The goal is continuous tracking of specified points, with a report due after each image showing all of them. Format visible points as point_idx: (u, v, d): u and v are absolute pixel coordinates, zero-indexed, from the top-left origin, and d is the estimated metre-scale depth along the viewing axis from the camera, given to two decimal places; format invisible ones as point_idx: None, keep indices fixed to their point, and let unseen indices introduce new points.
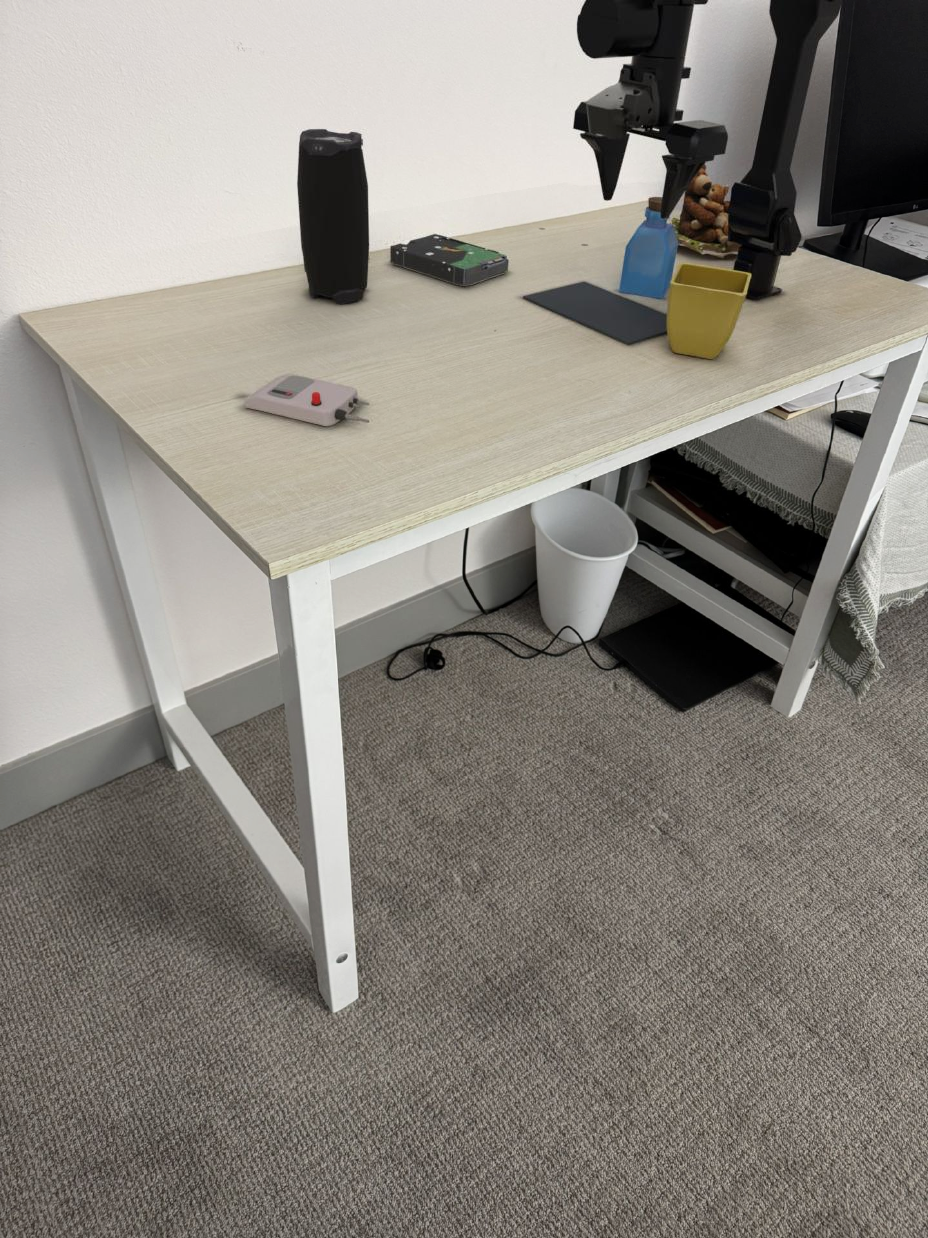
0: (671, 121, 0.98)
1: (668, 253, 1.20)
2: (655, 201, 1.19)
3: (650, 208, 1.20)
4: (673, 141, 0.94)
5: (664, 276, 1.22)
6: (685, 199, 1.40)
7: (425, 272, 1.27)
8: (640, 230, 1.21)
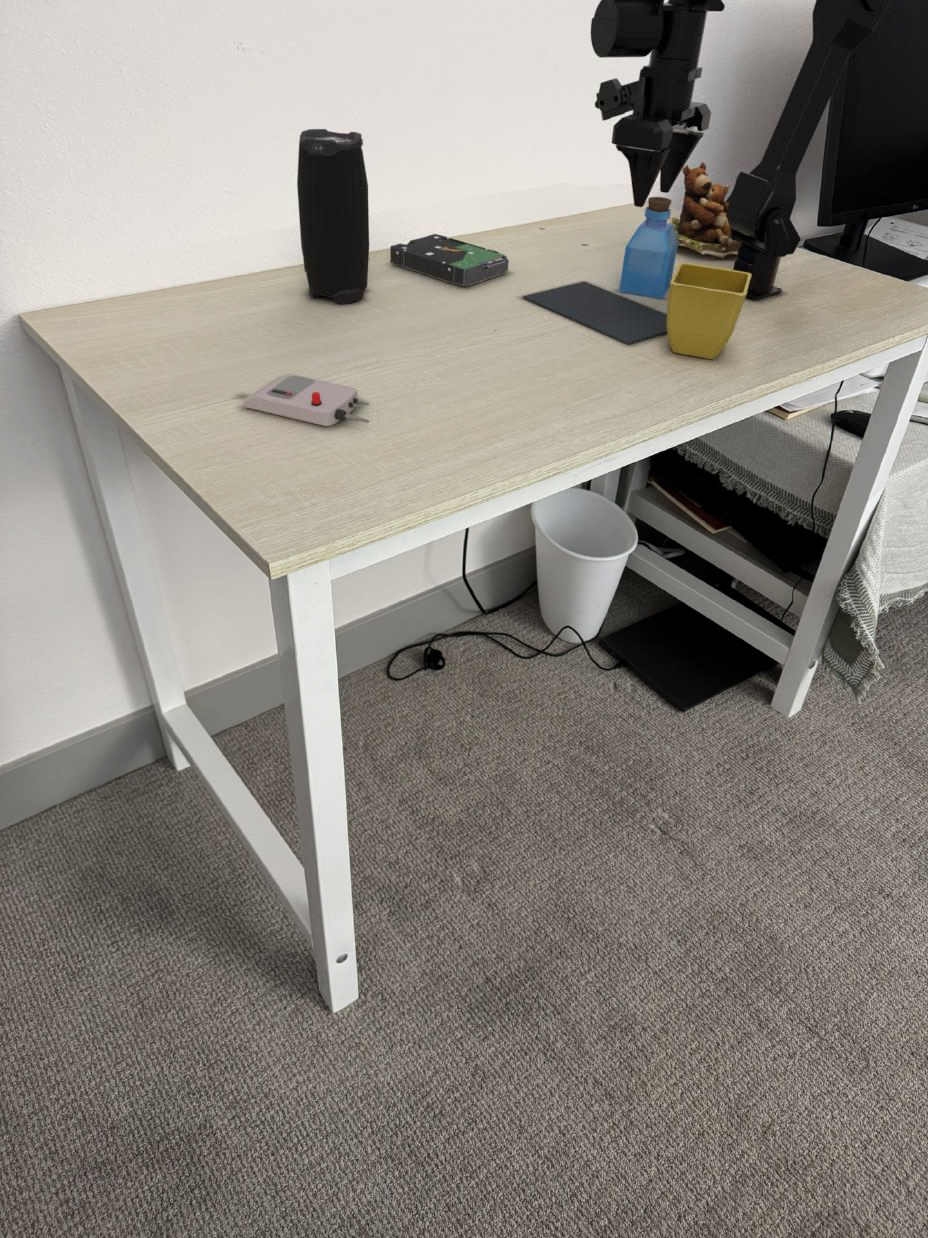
0: (661, 118, 1.05)
1: (668, 253, 1.20)
2: (655, 201, 1.19)
3: (650, 208, 1.20)
4: None
5: (664, 276, 1.22)
6: (685, 199, 1.40)
7: (425, 272, 1.27)
8: (640, 230, 1.21)
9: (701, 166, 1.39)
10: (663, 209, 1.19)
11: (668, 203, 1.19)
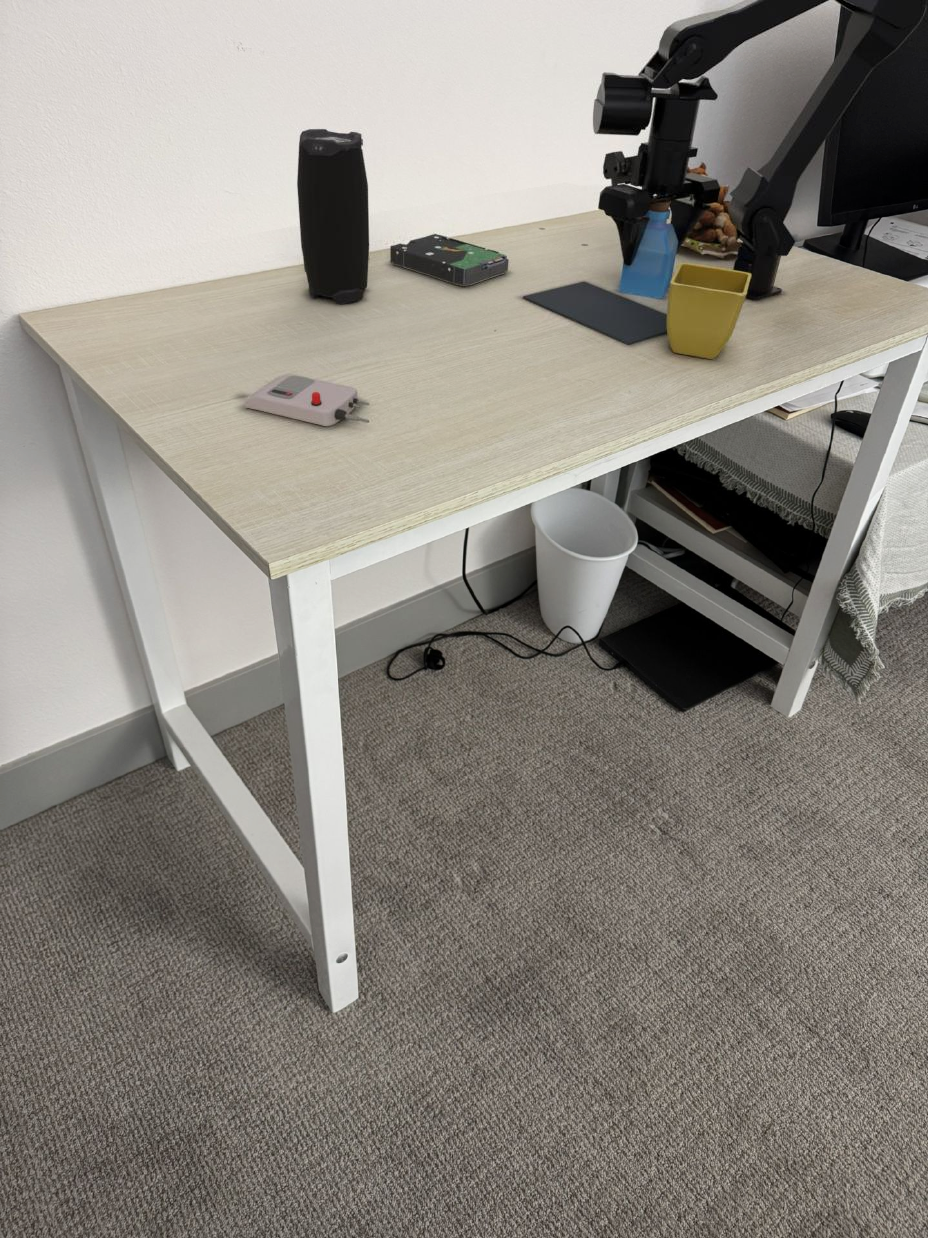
0: (651, 189, 1.17)
1: (668, 253, 1.20)
2: None
3: (650, 208, 1.20)
4: None
5: (664, 276, 1.22)
6: None
7: (425, 272, 1.27)
8: None
9: (701, 166, 1.39)
10: (663, 209, 1.19)
11: (668, 203, 1.19)
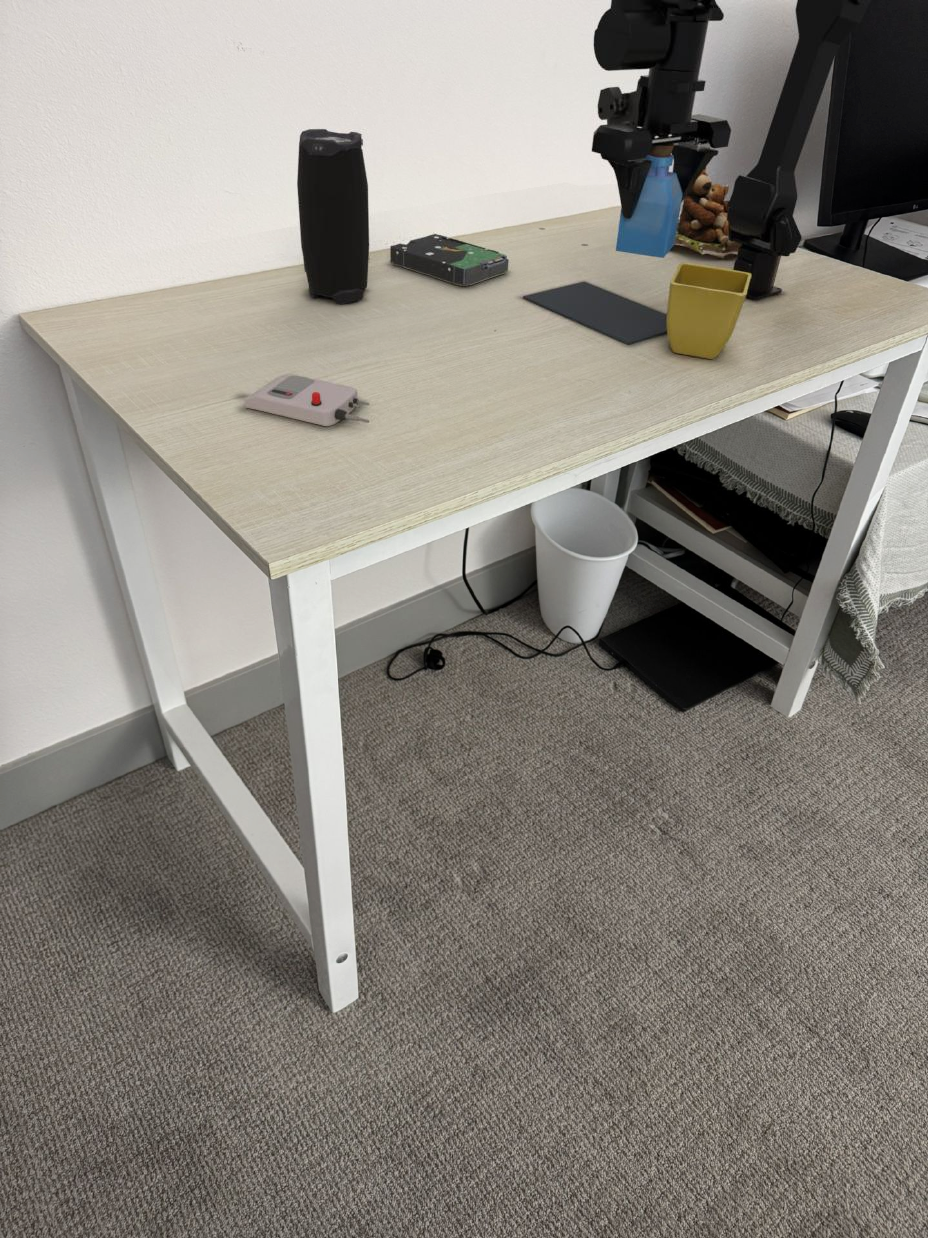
0: (652, 129, 1.02)
1: (670, 205, 1.06)
2: None
3: (650, 153, 1.05)
4: None
5: (666, 231, 1.08)
6: (685, 199, 1.40)
7: (425, 272, 1.27)
8: None
9: None
10: (665, 154, 1.05)
11: (670, 147, 1.04)
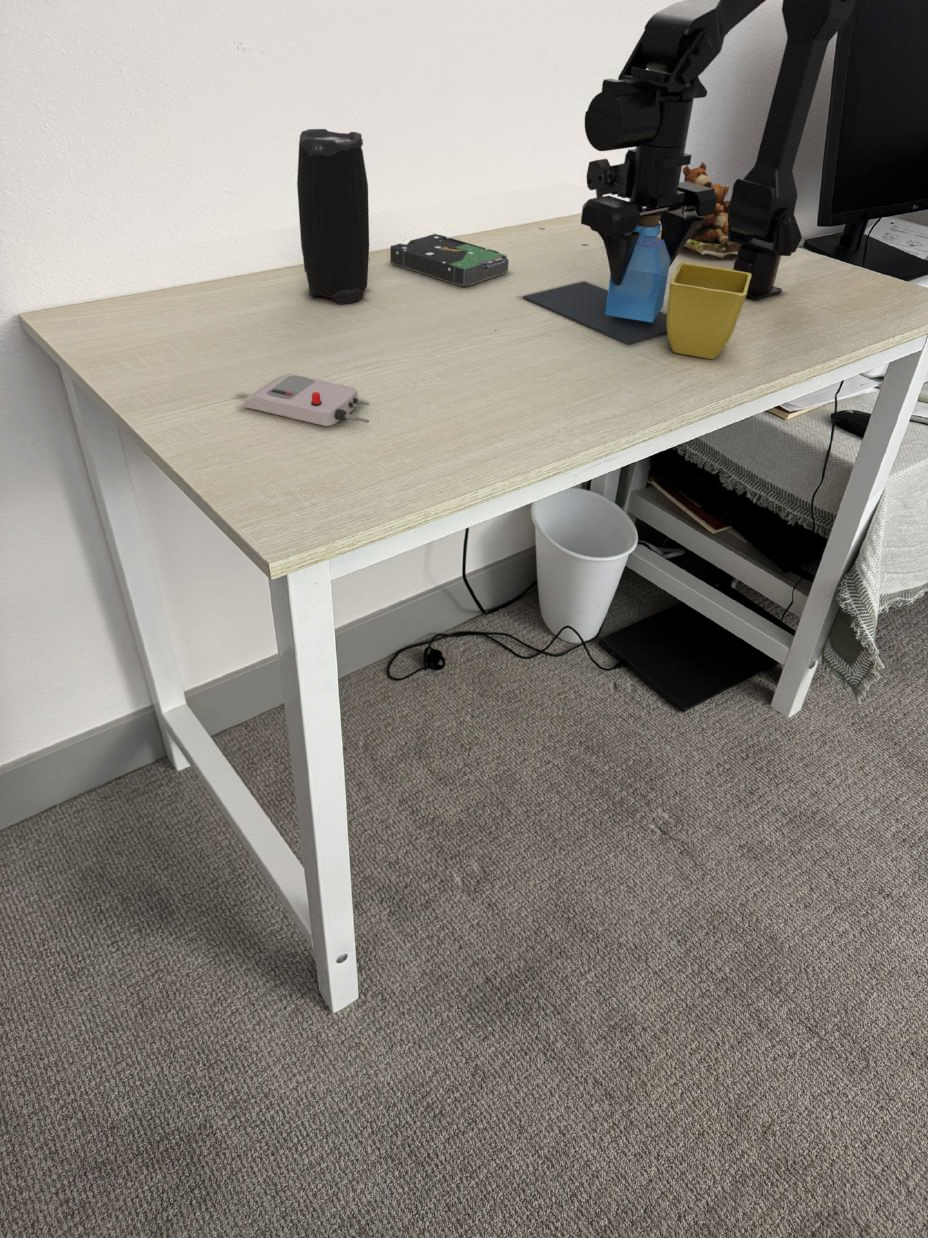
0: (640, 201, 1.05)
1: (658, 273, 1.08)
2: None
3: None
4: None
5: (655, 298, 1.10)
6: None
7: (425, 272, 1.27)
8: None
9: (701, 166, 1.39)
10: (652, 224, 1.07)
11: (658, 217, 1.07)
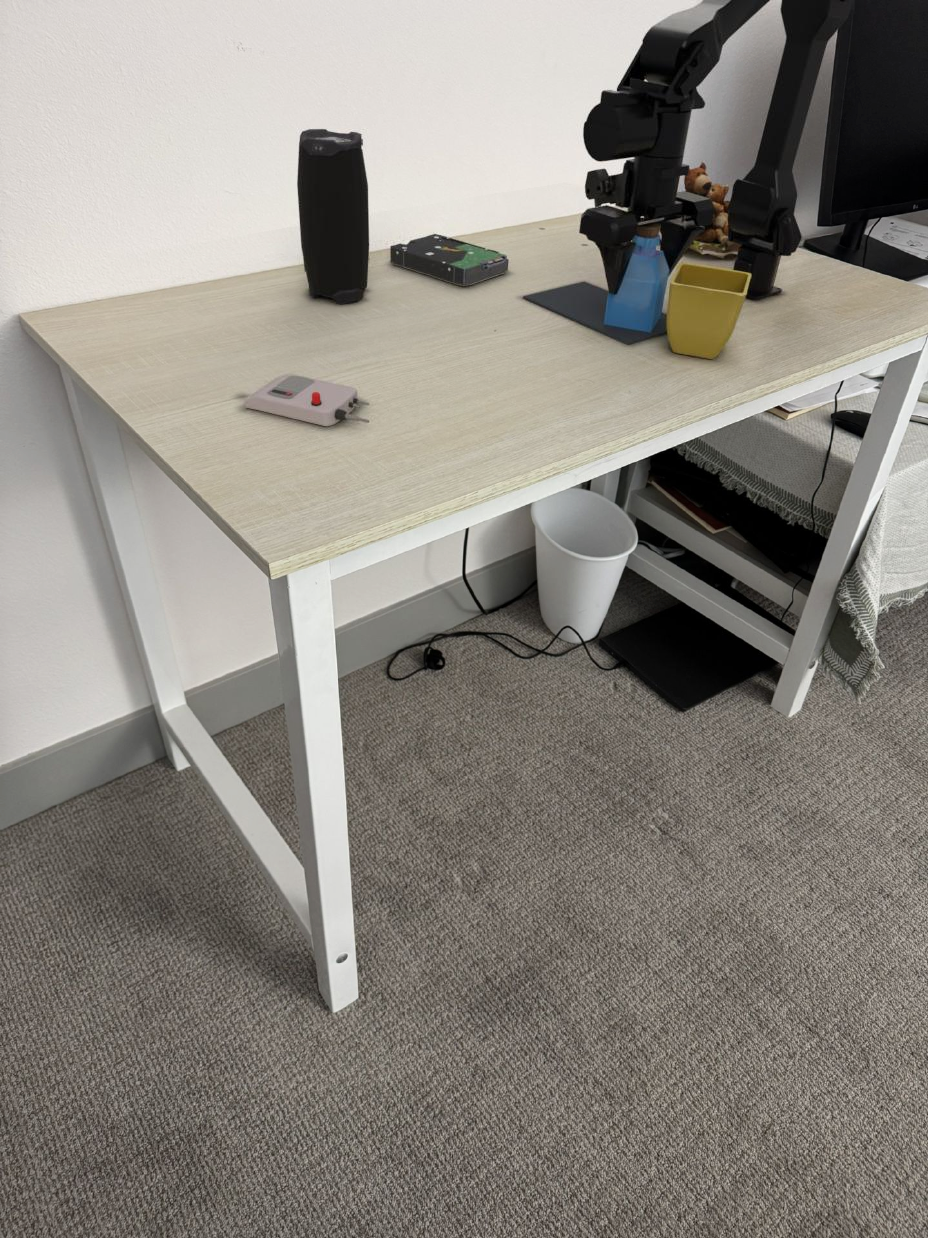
0: (638, 211, 1.05)
1: (657, 283, 1.09)
2: (643, 226, 1.08)
3: (637, 234, 1.09)
4: None
5: (653, 308, 1.11)
6: None
7: (425, 272, 1.27)
8: None
9: (701, 166, 1.39)
10: (652, 235, 1.08)
11: (657, 228, 1.08)
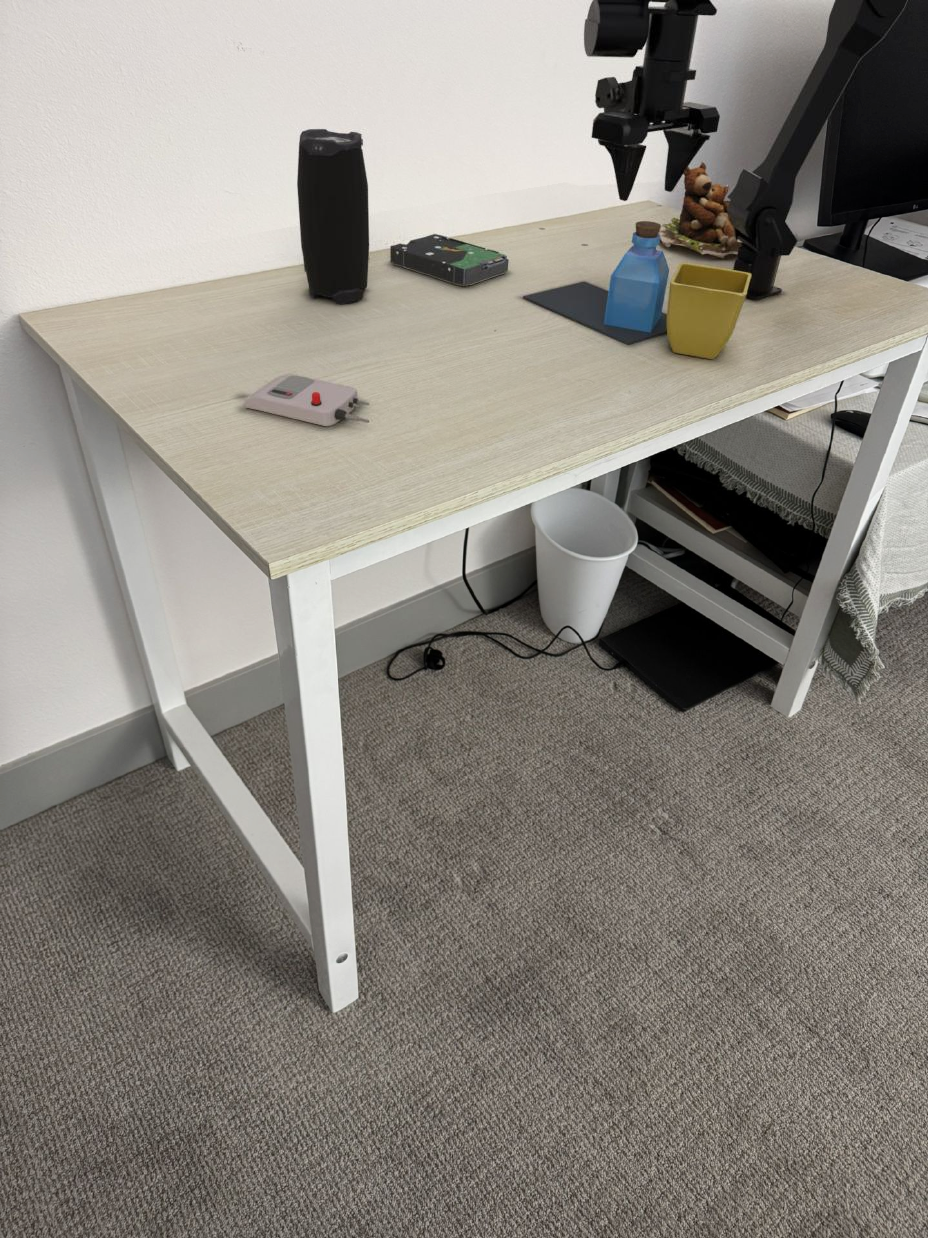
0: (647, 116, 1.10)
1: (657, 283, 1.09)
2: (643, 226, 1.08)
3: (637, 234, 1.09)
4: None
5: (653, 308, 1.11)
6: (685, 199, 1.40)
7: (425, 272, 1.27)
8: (626, 258, 1.10)
9: (701, 166, 1.39)
10: (652, 235, 1.08)
11: (657, 228, 1.08)
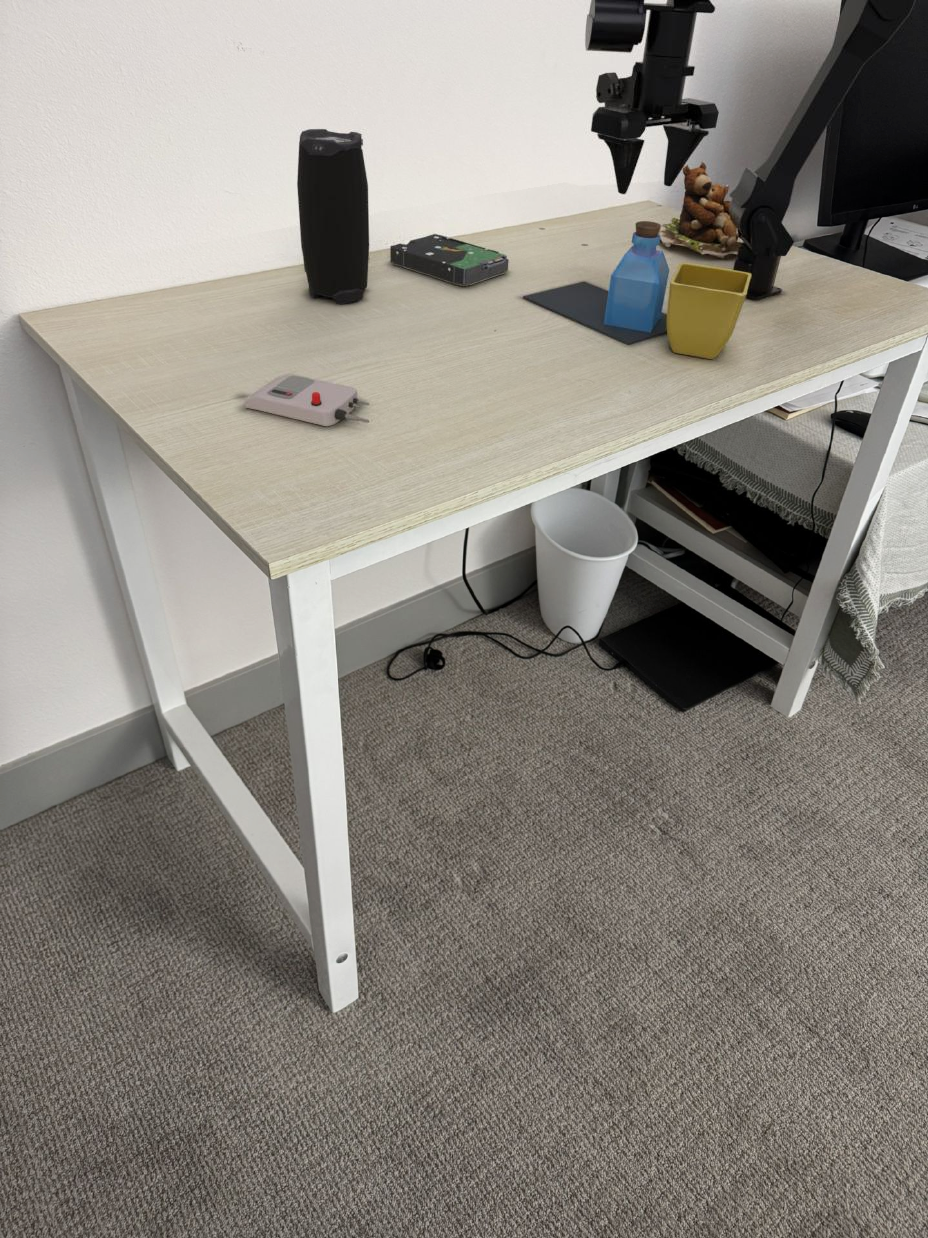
0: (646, 111, 1.12)
1: (657, 283, 1.09)
2: (643, 226, 1.08)
3: (637, 234, 1.09)
4: None
5: (653, 308, 1.11)
6: (685, 199, 1.40)
7: (425, 272, 1.27)
8: (626, 258, 1.10)
9: (701, 166, 1.39)
10: (652, 235, 1.08)
11: (657, 228, 1.08)
